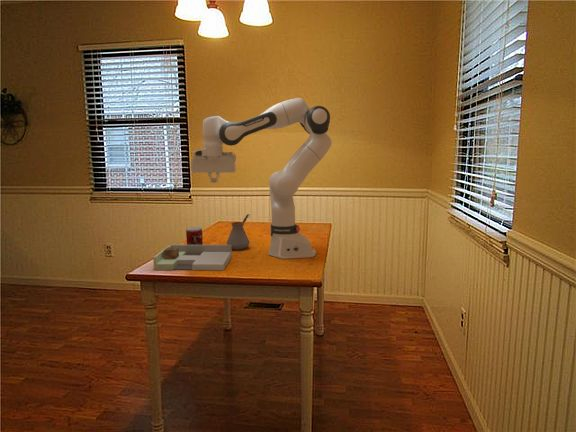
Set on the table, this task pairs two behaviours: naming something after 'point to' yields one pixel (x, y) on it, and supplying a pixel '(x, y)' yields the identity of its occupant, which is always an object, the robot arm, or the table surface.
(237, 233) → the coffee pot
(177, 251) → the walnut block
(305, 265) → the table surface
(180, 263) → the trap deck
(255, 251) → the table surface
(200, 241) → the canned food
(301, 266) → the table surface
